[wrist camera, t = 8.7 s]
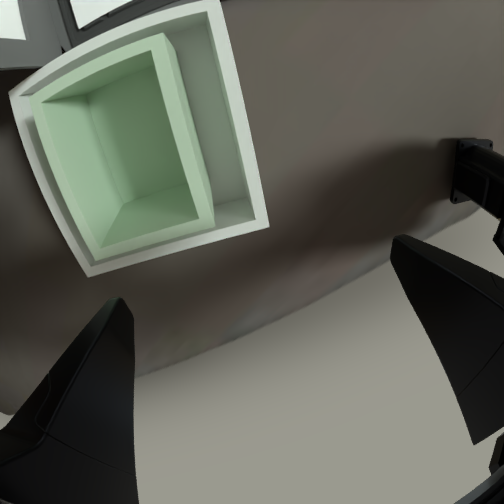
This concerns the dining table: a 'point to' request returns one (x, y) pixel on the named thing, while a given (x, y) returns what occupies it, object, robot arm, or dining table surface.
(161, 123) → the small crate
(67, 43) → the laptop
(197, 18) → the big crate
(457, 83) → the dining table surface
